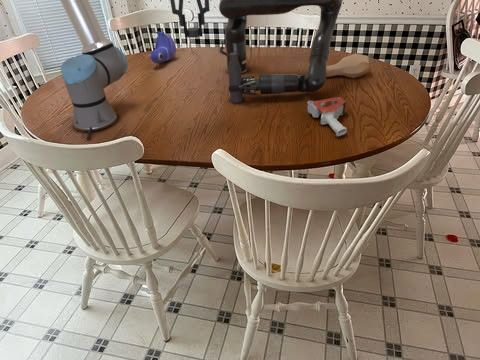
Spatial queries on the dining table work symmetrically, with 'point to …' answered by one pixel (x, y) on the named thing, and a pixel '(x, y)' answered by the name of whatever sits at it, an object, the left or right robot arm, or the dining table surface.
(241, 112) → the dining table surface
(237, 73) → the bottle
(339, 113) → the tape dispenser
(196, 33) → the cap
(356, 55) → the squash
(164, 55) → the toy
